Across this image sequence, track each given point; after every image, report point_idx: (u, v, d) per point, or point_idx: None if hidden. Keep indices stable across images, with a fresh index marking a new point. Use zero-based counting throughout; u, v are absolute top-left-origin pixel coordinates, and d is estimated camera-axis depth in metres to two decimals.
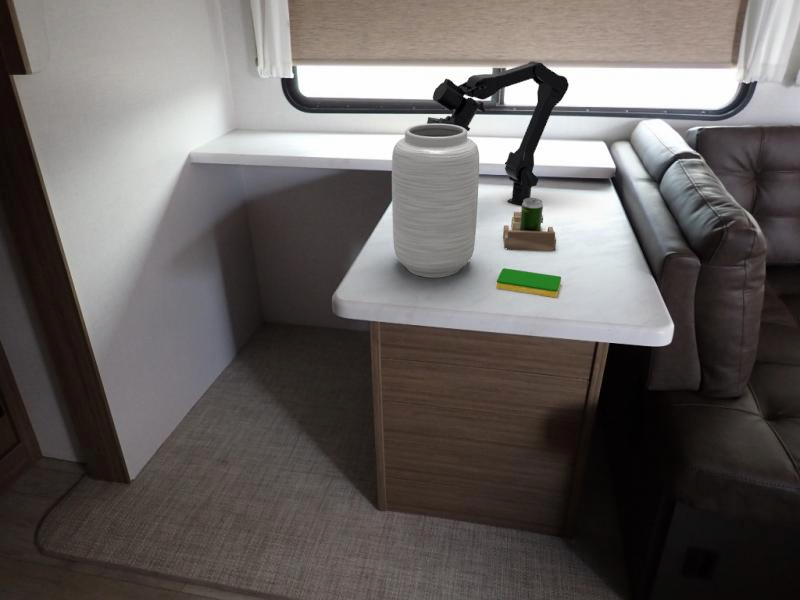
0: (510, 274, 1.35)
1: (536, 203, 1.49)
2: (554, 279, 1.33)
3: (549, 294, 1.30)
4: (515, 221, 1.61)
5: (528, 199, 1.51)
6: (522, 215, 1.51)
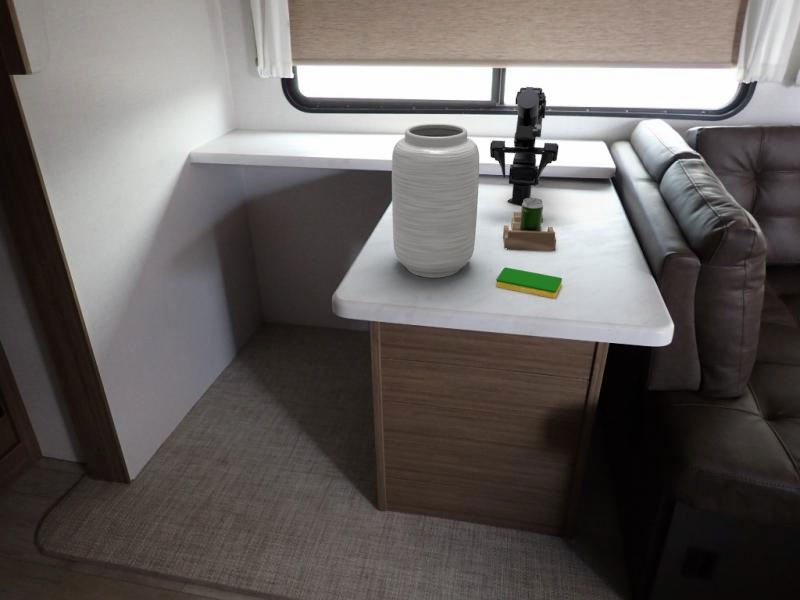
0: (511, 273, 1.36)
1: (536, 203, 1.49)
2: (554, 280, 1.33)
3: (547, 295, 1.30)
4: (515, 221, 1.61)
5: (528, 199, 1.51)
6: (522, 215, 1.51)
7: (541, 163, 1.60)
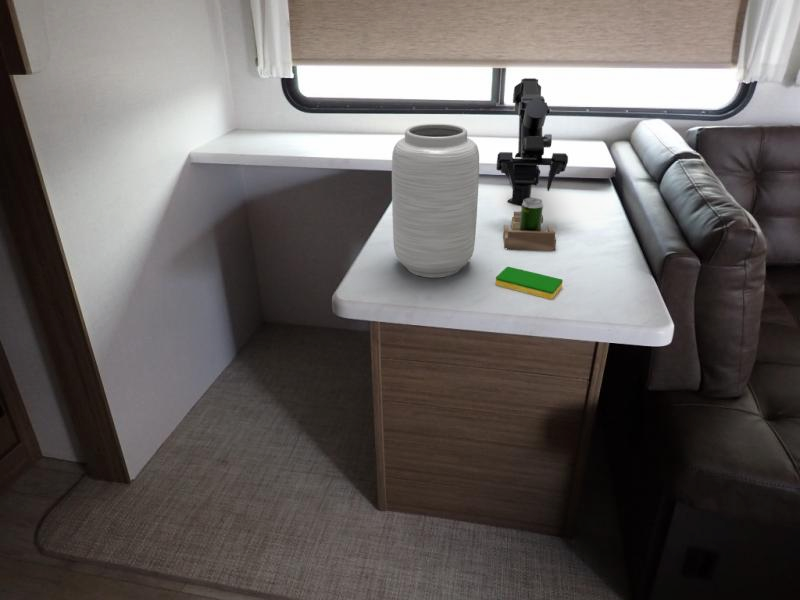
0: (511, 273, 1.36)
1: (536, 203, 1.49)
2: (554, 281, 1.32)
3: (545, 296, 1.29)
4: (515, 221, 1.61)
5: (528, 199, 1.51)
6: (522, 215, 1.51)
7: (551, 174, 1.55)
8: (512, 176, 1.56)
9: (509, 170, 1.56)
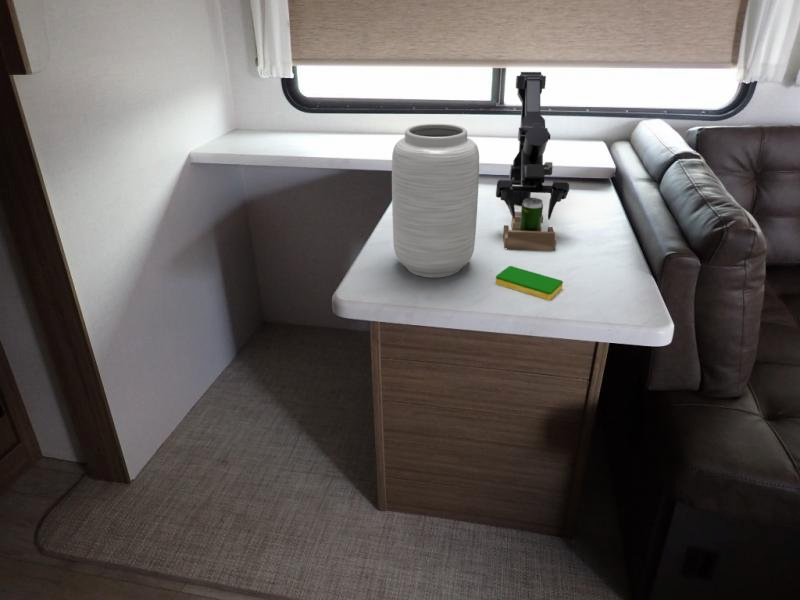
0: (512, 272, 1.36)
1: (536, 203, 1.49)
2: (554, 282, 1.32)
3: (543, 296, 1.29)
4: (515, 221, 1.61)
5: (528, 199, 1.51)
6: (522, 215, 1.51)
7: (552, 202, 1.51)
8: (512, 204, 1.52)
9: (509, 198, 1.52)
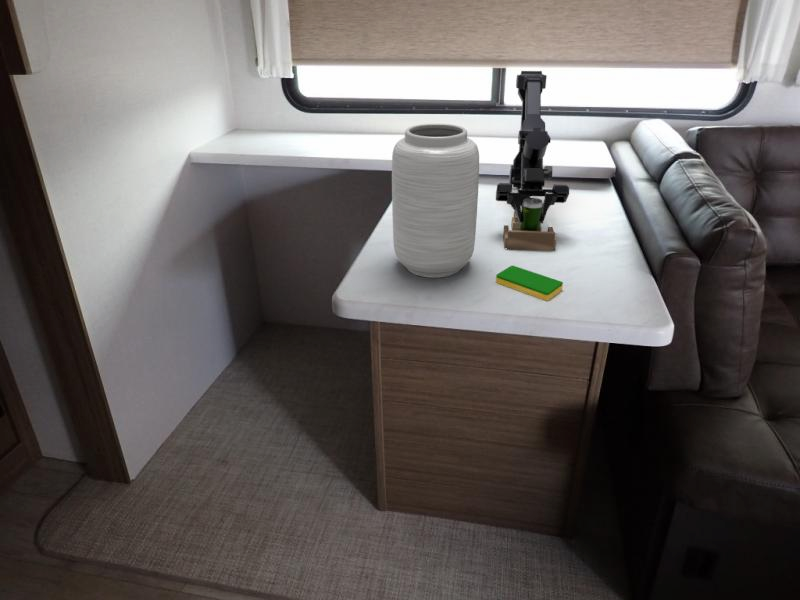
0: (513, 271, 1.37)
1: (536, 203, 1.49)
2: (553, 283, 1.31)
3: (540, 296, 1.29)
4: (515, 221, 1.61)
5: (528, 199, 1.51)
6: (522, 215, 1.51)
7: (545, 206, 1.51)
8: (518, 208, 1.52)
9: (515, 202, 1.52)
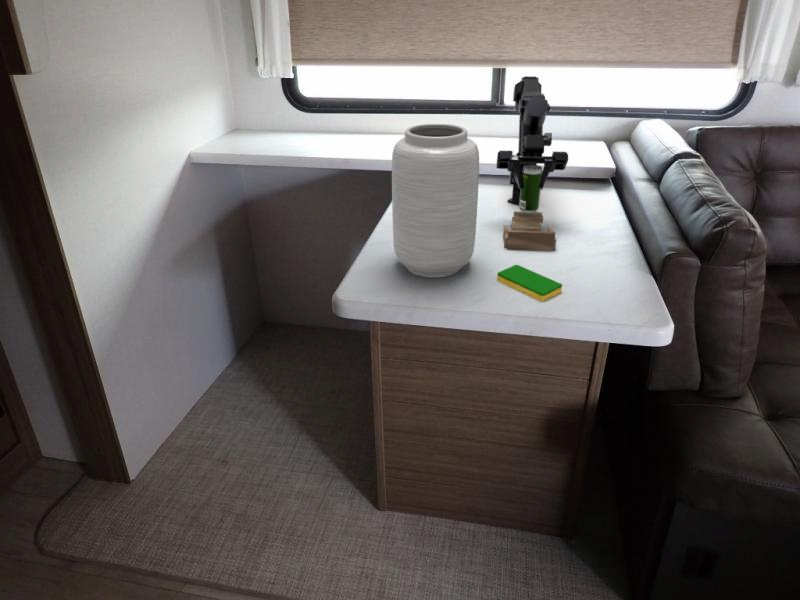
0: (515, 271, 1.37)
1: (536, 169, 1.52)
2: (552, 285, 1.31)
3: (536, 297, 1.29)
4: (515, 221, 1.61)
5: (528, 166, 1.55)
6: (522, 181, 1.55)
7: (545, 172, 1.55)
8: (518, 175, 1.55)
9: (515, 169, 1.56)
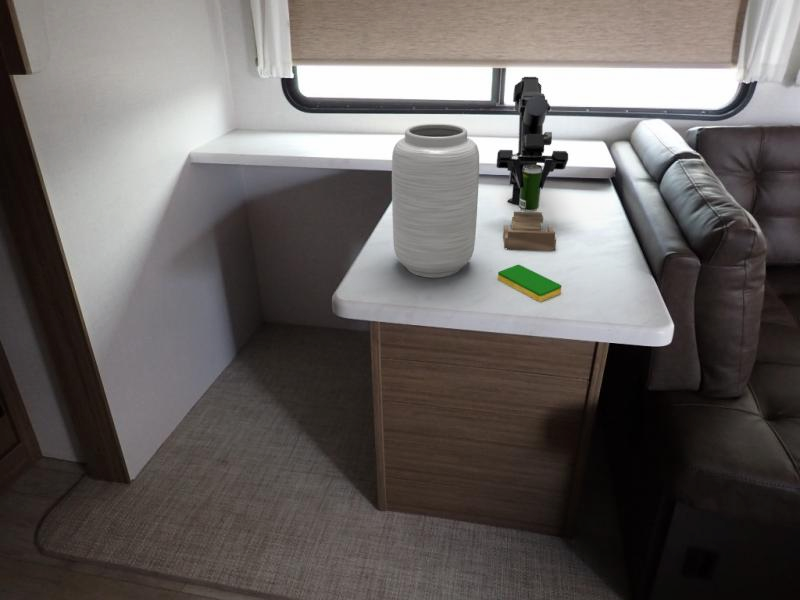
0: (516, 270, 1.37)
1: (536, 168, 1.52)
2: (551, 285, 1.30)
3: (534, 297, 1.29)
4: (515, 221, 1.61)
5: (528, 165, 1.55)
6: (522, 181, 1.55)
7: (545, 171, 1.55)
8: (519, 174, 1.55)
9: (515, 168, 1.56)
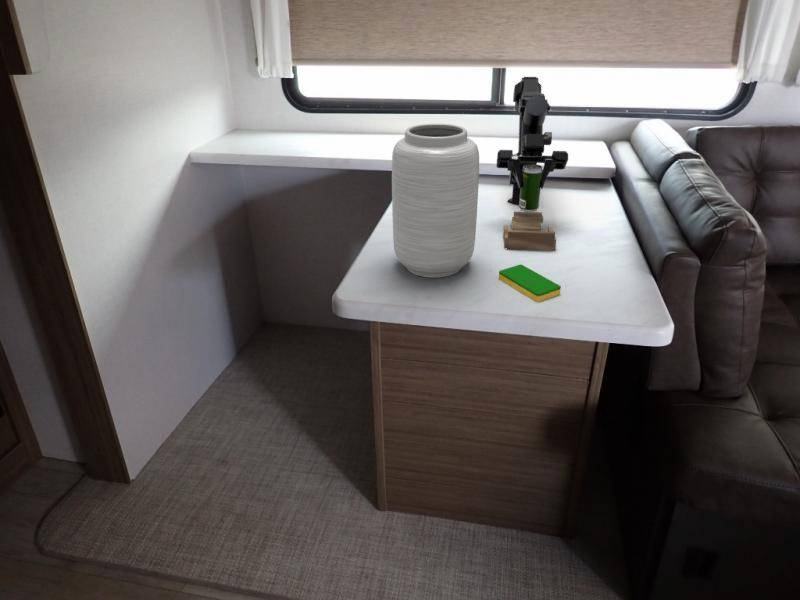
0: (518, 270, 1.37)
1: (536, 168, 1.52)
2: (550, 286, 1.30)
3: (532, 297, 1.29)
4: (515, 221, 1.61)
5: (528, 165, 1.55)
6: (522, 181, 1.55)
7: (545, 171, 1.55)
8: (519, 174, 1.55)
9: (515, 168, 1.56)
